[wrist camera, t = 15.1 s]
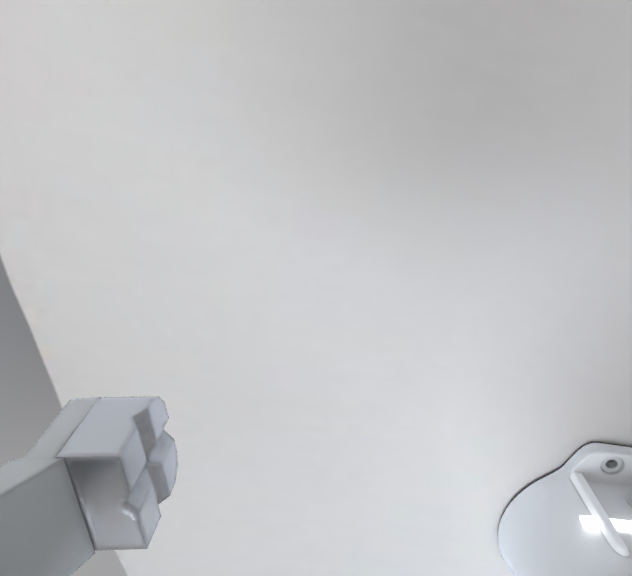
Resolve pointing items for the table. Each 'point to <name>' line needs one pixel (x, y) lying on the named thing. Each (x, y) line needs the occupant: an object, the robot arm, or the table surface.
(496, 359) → the table surface
